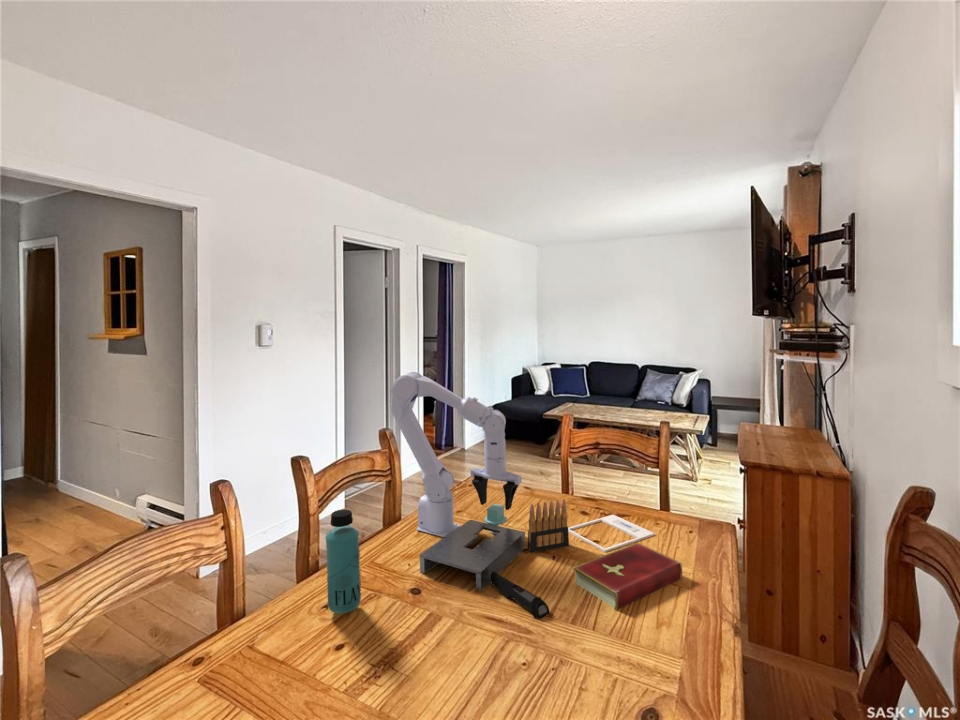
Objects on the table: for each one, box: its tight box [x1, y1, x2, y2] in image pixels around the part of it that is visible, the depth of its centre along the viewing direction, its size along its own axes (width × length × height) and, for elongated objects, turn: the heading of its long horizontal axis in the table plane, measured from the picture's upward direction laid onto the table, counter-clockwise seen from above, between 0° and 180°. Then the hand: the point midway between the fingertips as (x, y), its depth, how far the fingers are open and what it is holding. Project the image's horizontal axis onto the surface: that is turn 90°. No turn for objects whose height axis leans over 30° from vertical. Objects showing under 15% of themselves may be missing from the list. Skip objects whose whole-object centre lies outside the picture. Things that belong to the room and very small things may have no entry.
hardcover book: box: [572, 541, 683, 611], centre depth 102 cm, size 12×21×4 cm, turn 123°
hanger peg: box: [484, 503, 508, 536], centre depth 128 cm, size 6×6×7 cm
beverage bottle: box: [325, 508, 362, 614], centre depth 92 cm, size 6×7×20 cm
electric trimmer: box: [490, 572, 550, 620], centre depth 96 cm, size 4×16×3 cm, turn 37°
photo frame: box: [568, 514, 655, 553], centre depth 126 cm, size 15×1×18 cm
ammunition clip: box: [526, 499, 570, 554], centre depth 118 cm, size 11×2×12 cm, turn 108°
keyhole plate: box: [419, 519, 526, 592], centre depth 112 cm, size 16×22×4 cm
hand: (495, 506), depth 127 cm, fingers open, 7 cm apart
